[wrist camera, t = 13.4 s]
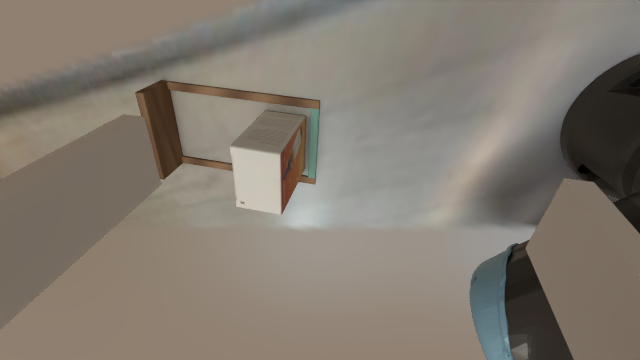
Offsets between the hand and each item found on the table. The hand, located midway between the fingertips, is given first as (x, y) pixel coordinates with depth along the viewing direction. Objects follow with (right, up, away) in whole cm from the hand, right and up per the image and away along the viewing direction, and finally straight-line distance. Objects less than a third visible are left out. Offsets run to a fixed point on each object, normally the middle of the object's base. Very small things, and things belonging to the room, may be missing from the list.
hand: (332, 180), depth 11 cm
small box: (-5, +5, +33) cm, 34 cm away
